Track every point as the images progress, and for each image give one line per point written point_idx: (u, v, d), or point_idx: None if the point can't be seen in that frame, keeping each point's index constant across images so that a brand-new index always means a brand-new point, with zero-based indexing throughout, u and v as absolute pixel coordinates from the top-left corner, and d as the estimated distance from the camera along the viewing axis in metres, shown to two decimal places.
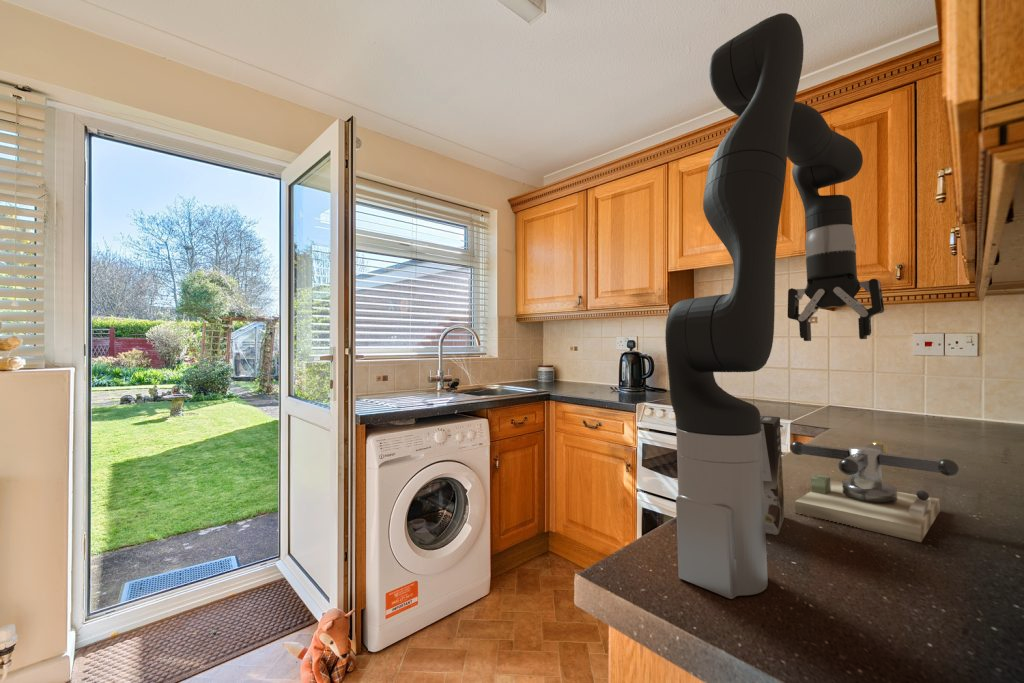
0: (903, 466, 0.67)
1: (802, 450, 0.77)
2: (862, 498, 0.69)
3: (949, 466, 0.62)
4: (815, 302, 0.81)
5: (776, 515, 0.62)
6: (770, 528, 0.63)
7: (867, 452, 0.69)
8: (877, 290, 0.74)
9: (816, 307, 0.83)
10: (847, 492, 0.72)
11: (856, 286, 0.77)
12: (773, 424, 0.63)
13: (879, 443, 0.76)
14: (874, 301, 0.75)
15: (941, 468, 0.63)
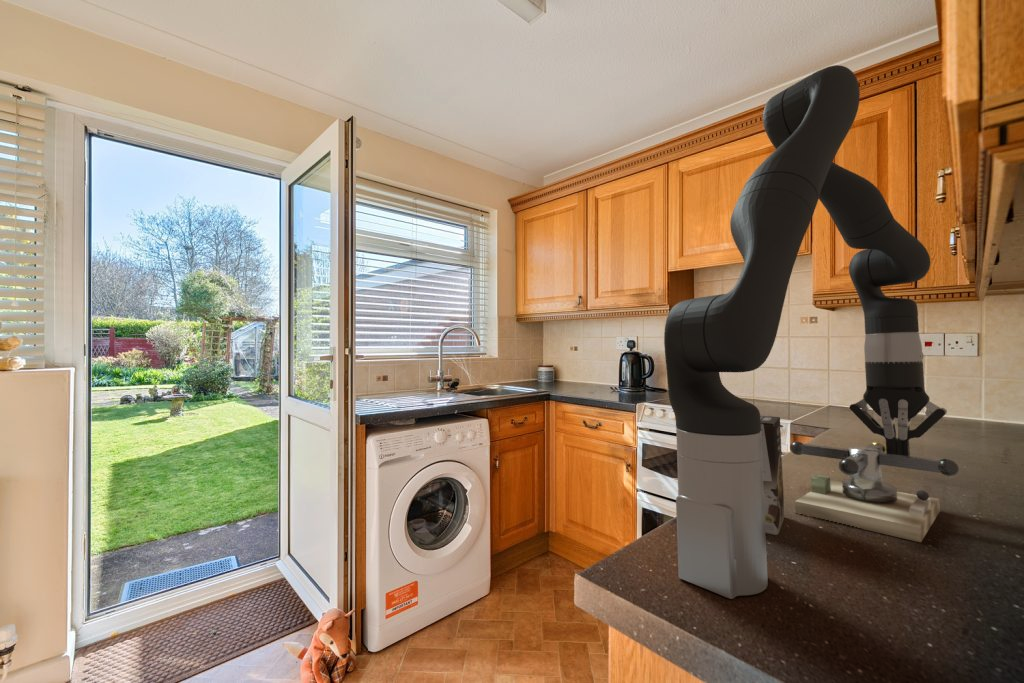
0: (903, 466, 0.67)
1: (802, 450, 0.77)
2: (862, 498, 0.69)
3: (949, 466, 0.62)
4: (887, 413, 0.74)
5: (776, 515, 0.62)
6: (770, 528, 0.63)
7: (867, 452, 0.69)
8: (935, 421, 0.70)
9: (891, 417, 0.75)
10: (847, 492, 0.72)
11: (922, 403, 0.71)
12: (773, 424, 0.63)
13: (879, 443, 0.76)
14: (921, 427, 0.71)
15: (941, 468, 0.63)
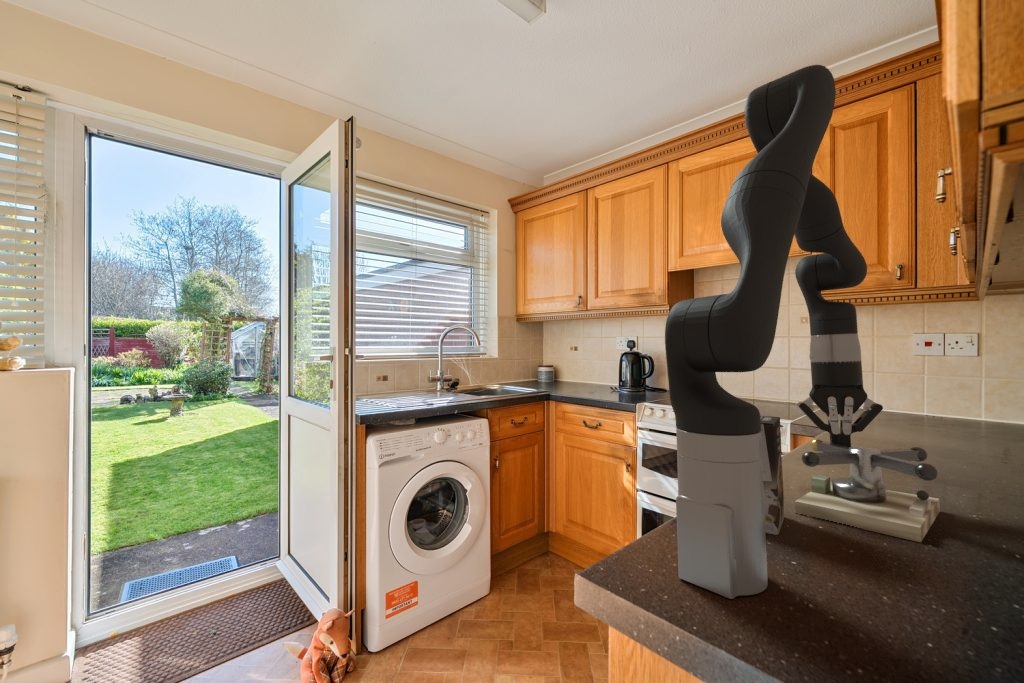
0: None
1: (820, 461, 0.69)
2: (877, 500, 0.69)
3: (926, 453, 0.71)
4: (835, 410, 0.78)
5: (776, 515, 0.62)
6: (770, 528, 0.63)
7: (878, 452, 0.69)
8: (874, 416, 0.76)
9: None
10: (859, 497, 0.69)
11: (863, 400, 0.77)
12: (773, 424, 0.63)
13: (821, 440, 0.80)
14: (863, 421, 0.76)
15: (921, 456, 0.71)
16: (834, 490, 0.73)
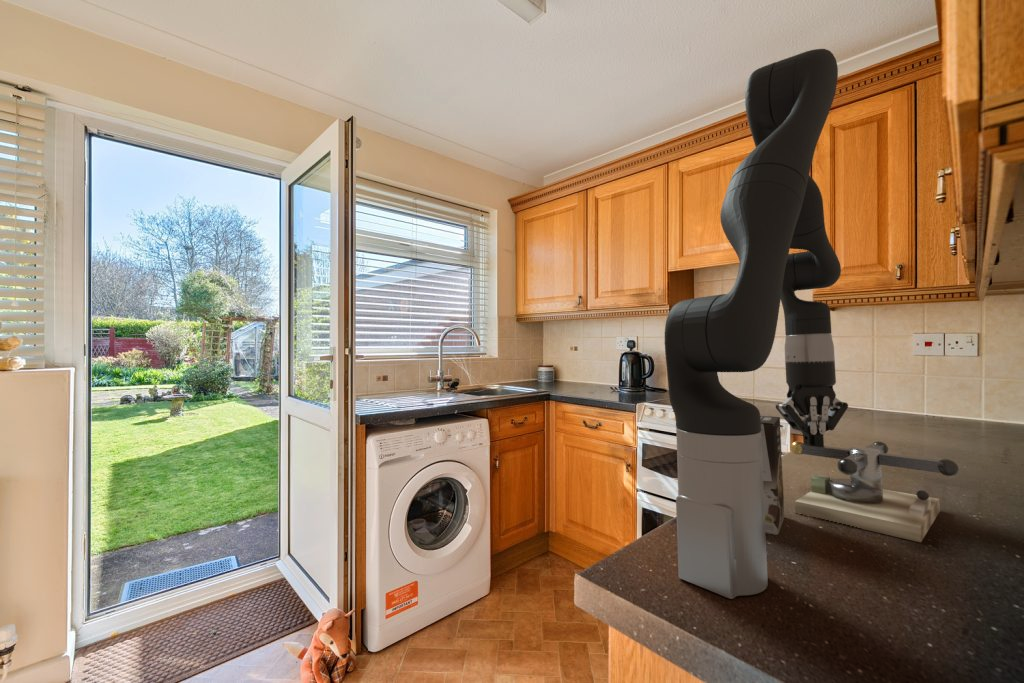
0: None
1: None
2: (881, 499, 0.69)
3: (887, 446, 0.76)
4: (815, 411, 0.77)
5: (776, 515, 0.62)
6: (770, 528, 0.63)
7: None
8: (842, 414, 0.78)
9: None
10: (871, 499, 0.68)
11: (833, 398, 0.78)
12: (773, 424, 0.63)
13: None
14: (834, 420, 0.78)
15: (886, 450, 0.76)
16: (840, 494, 0.71)
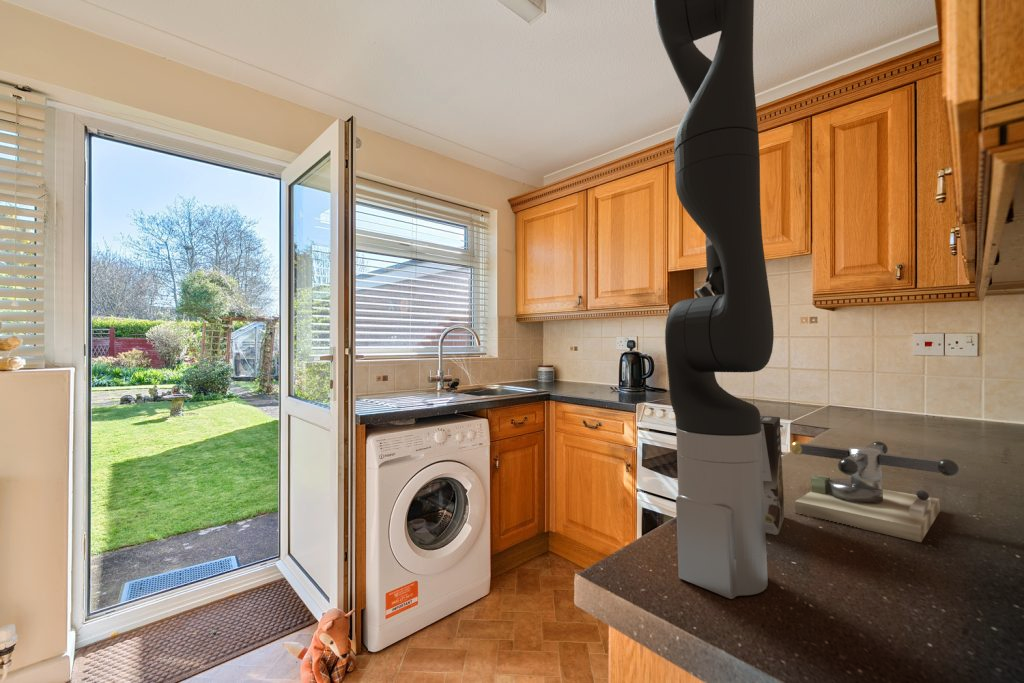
0: None
1: None
2: (882, 499, 0.69)
3: None
4: None
5: (776, 515, 0.62)
6: (770, 528, 0.63)
7: None
8: None
9: None
10: (871, 499, 0.68)
11: None
12: (773, 424, 0.63)
13: (802, 443, 0.78)
14: None
15: (885, 450, 0.76)
16: (840, 494, 0.71)
